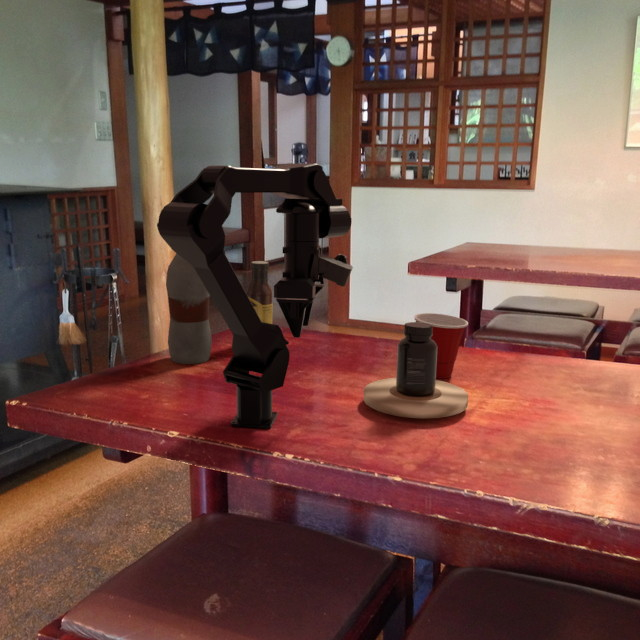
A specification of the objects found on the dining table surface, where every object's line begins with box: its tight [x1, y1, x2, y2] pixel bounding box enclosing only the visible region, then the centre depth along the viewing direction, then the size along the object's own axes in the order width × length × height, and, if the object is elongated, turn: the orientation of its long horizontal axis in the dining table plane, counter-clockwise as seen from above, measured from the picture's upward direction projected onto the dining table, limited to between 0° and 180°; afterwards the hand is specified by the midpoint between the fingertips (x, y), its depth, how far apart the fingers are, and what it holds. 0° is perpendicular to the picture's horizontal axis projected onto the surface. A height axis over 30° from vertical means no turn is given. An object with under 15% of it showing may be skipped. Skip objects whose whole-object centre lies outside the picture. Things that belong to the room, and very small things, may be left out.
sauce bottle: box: [246, 260, 274, 324], centre depth 156 cm, size 7×6×20 cm
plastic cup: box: [413, 312, 469, 380], centre depth 135 cm, size 11×11×12 cm
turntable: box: [363, 377, 469, 419], centre depth 117 cm, size 18×18×2 cm
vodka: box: [165, 253, 213, 365], centre depth 142 cm, size 9×9×30 cm
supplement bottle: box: [395, 321, 437, 397], centre depth 115 cm, size 7×7×12 cm
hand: (301, 331), depth 115 cm, fingers open, 9 cm apart
